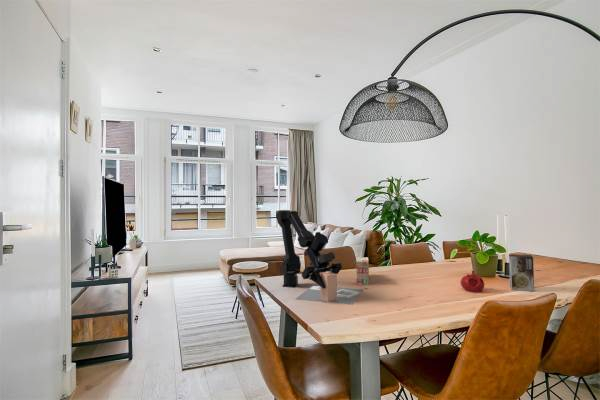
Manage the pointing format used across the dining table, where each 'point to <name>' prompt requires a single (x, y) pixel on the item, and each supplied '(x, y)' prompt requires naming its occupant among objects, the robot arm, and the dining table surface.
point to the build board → (342, 295)
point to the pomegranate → (472, 282)
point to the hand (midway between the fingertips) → (330, 287)
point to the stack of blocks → (362, 270)
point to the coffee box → (521, 272)
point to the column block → (329, 286)
